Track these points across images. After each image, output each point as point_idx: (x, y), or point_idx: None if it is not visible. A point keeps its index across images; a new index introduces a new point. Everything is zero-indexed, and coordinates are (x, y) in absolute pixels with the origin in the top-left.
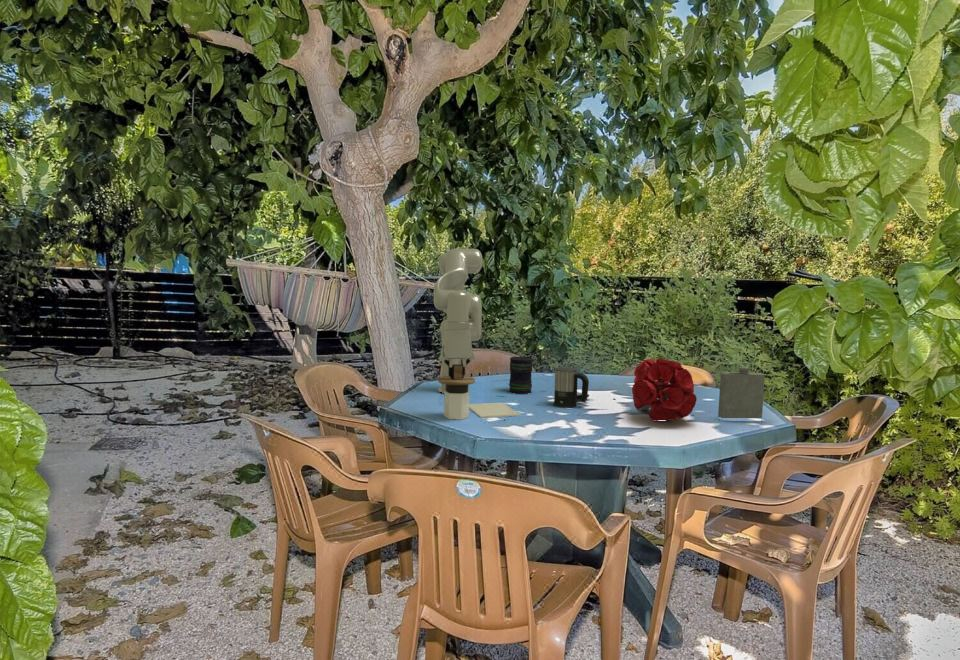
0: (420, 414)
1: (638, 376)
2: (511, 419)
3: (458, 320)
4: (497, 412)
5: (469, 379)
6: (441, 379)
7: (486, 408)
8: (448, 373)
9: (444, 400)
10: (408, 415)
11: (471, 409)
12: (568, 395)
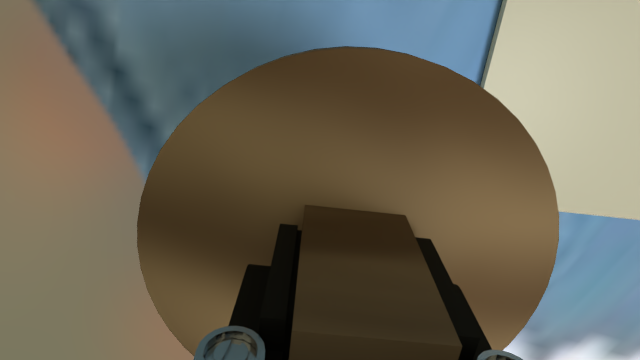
0: (149, 5)
1: None
2: (574, 259)
3: None
4: (591, 147)
5: None
6: (168, 247)
7: (601, 27)
8: (245, 273)
9: None
10: (71, 7)
11: (504, 2)
12: None
